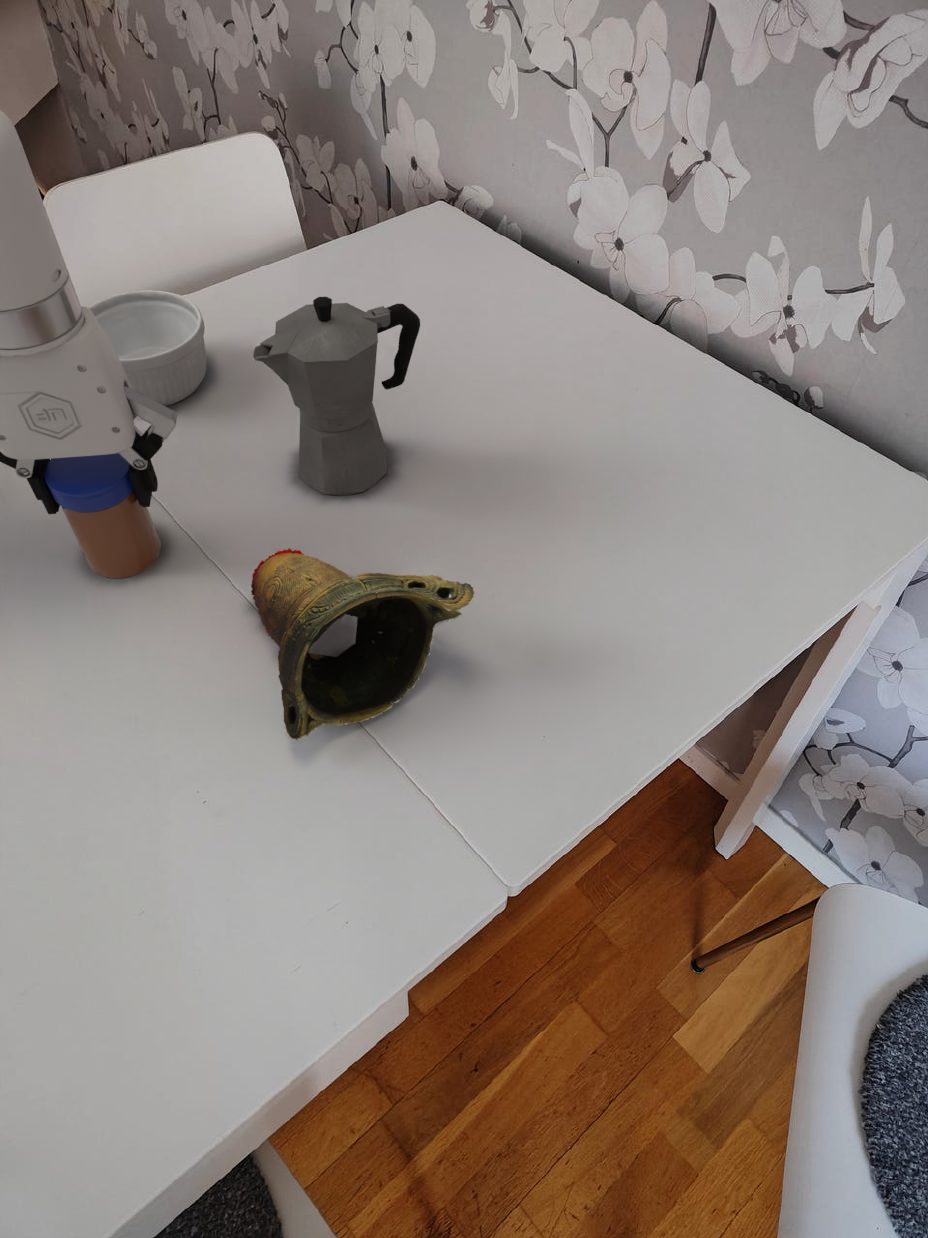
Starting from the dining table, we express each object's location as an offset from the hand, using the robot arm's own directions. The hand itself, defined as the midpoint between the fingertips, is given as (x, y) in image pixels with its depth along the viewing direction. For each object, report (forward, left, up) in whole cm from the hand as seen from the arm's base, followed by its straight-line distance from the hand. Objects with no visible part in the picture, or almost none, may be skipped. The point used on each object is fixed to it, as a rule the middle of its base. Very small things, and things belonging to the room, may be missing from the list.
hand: (101, 498), depth 73 cm
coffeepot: (+21, +10, -7) cm, 24 cm away
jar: (0, 0, -7) cm, 7 cm away
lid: (0, 0, +3) cm, 3 cm away
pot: (+20, -15, -7) cm, 26 cm away
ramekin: (0, +26, -7) cm, 27 cm away
